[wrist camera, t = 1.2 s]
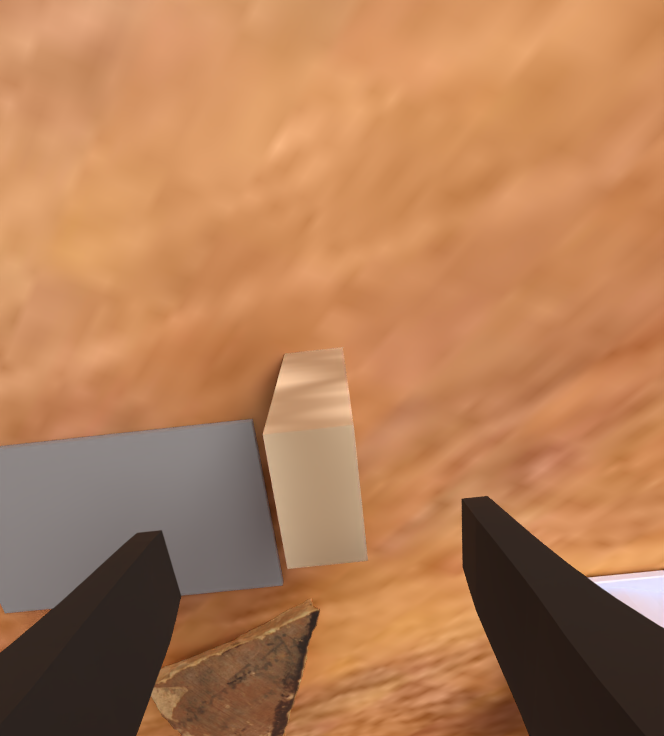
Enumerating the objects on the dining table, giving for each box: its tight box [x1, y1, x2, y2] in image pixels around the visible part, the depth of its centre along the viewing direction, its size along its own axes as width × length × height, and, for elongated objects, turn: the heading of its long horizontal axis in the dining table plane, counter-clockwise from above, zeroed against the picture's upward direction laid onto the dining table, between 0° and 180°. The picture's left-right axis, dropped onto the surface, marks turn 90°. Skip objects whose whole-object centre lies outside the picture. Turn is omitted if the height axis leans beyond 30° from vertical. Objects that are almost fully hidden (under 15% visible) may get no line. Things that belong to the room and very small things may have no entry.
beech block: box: [263, 347, 368, 569], centre depth 16 cm, size 2×4×7 cm, turn 6°
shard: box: [151, 598, 320, 736], centre depth 24 cm, size 11×8×2 cm
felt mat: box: [0, 419, 283, 613], centre depth 21 cm, size 14×9×1 cm, turn 96°
